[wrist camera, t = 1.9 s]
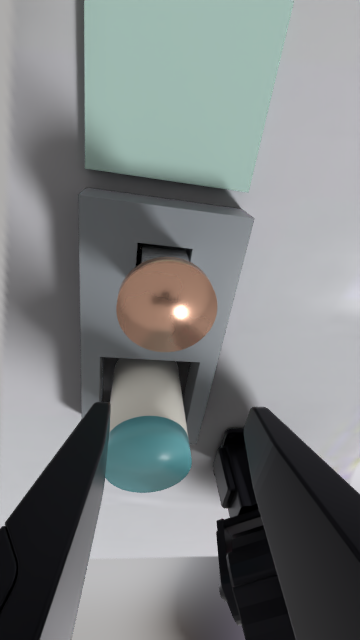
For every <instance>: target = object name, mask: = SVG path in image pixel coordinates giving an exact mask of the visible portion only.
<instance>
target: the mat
mask: <svg viewBox="0 0 360 640" xmlns="http://www.w3.org/2000/svg"><path fill="white" fill-rule="evenodd" d="M293 3H294V1H292V0H84V67H85V169H92V170H99V171H105V172H112V173H119V174H126V175H133V176H139V177H146V178H153V179H160V180H167V181H173V182H180V183H187V184H194V185H201V186H207V187H214V188H221V189H228V190H235V191H241V192H249V188H250V184H251V180H252V175H253V171H254V167H255V163H256V159H257V154H258V150H259V146H260V142H261V138H262V133H263V129H264V125H265V121H266V117H267V113H268V108H269V104H270V100H271V96H272V92H273V87H274V83H275V79H276V75H277V71H278V66H279V62H280V58H281V54H282V50H283V45H284V41H285V37H286V33H287V29H288V24H289V20H290V16H291V12H292V8H293Z"/></svg>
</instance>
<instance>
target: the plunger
mask: <svg viewBox="0 0 360 640" xmlns="http://www.w3.org/2000/svg"><path fill="white" fill-rule="evenodd" d="M116 313H117V319H118V322H119V325H120V327H121V329H122V330H123V332H124V333H125V335H126V336H127V337H128V338H129V339H130V340H131V341H133V342H134V343H135V344H137V345H139V346H141V347H143V348H145V349H148V350H151V351H156V352H175V351H179V350H183V349H186V348H188V347H190V346H192V345H194V344H196V343H197V342H199V341H200V340H201V339H202V338H203V337H204V336H205V335H206V334H207V333H208V332H209V331H210V329H211V327H212V326H213V324H214V321H215V318H216V315H217V298H216V294H215V291H214V289H213V287H212V285H211V283H210V280H209V279H208V277H207V276H206V274H205V273H204V272H203V271H202V270H201V269H200V268H199V267H198V266H196V265H195V264H193V263H191V262H189V259H188V256H187V253H186V250H185V248H181V247H172V246H163V245H154V244H146V243H143V246H142V258H141V264H139V265H138V266H136V267H135V268H134V269H132V270H131V271H130V272H129V273H128V275H127V276H126V277H125V279H124V280H123V282H122V284H121V286H120V289H119V293H118V299H117V306H116Z"/></svg>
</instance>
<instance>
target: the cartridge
mask: <svg viewBox="0 0 360 640" xmlns="http://www.w3.org/2000/svg"><path fill="white" fill-rule="evenodd" d="M110 404H111V414H110V431H109V442H108V452H107V462H106V472H105V478H106V479H107V480H108V481H109V482H110V483H111V484H113V485H114V486H116V487H118V488H120V489H123V490H126V491H131V492H139V493H146V492H155V491H160V490H164V489H167V488H169V487H171V486H173V485H175V484H177V483H179V482H180V481H181V480H182V479H183V478H185V477H186V475H187V474H188V472H189V471H190V468H191V464H192V459H191V452H190V445H189V439H188V432H187V425H186V418H185V412H184V405H183V398H182V391H181V385H180V378H179V371H178V366H177V363H176V361H165V360H147V359H129V358H120V359H119V360H118V361H117V363H116V365H115V368H114V375H113V383H112V391H111V399H110Z"/></svg>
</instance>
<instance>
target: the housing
mask: <svg viewBox="0 0 360 640" xmlns="http://www.w3.org/2000/svg"><path fill="white" fill-rule="evenodd" d="M78 204H79V273H80V342H81V411H82V418H83V417H84V416H85V414H86V413H87V412H88V410H89V409H90V408H91V406H92V405H93V404H94V403H95V402H102V393H103V360H104V357H111V358H129V359H147V360H165V361H183V362H191V363H190V368H189V373H188V378H187V383H186V388H185V393H184V398H183V405H184V412H185V418H186V425H187V432H188V439H189V444H197V440H198V436H199V432H200V429H201V425H202V421H203V417H204V413H205V409H206V405H207V401H208V397H209V394H210V390H211V386H212V382H213V378H214V374H215V370H216V366H217V362H218V359H219V355H220V351H221V347H222V343H223V339H224V335H225V331H226V327H227V324H228V320H229V316H230V312H231V308H232V304H233V300H234V296H235V292H236V289H237V285H238V281H239V277H240V273H241V269H242V265H243V261H244V257H245V254H246V250H247V246H248V242H249V238H250V234H251V230H252V226H253V222H254V219H255V218H253V217H252V216H251V215H249V214H248V213H247V212H245V211H244V210H243V209H239V208H231V207H224V206H217V205H210V204H202V203H195V202H188V201H181V200H173V199H166V198H159V197H152V196H144V195H137V194H130V193H123V192H115V191H108V190H101V189H94V188H85V189H84V190H83V191H82V192H81V193H80V194H79V195H78ZM137 243H146V244H155V245H163V246H172V247H181V248H185V250H186V253H187V256H188V259H189V262H191V263H193V264H195V265H196V266H198V267H199V268H200V269H201V270H202V271H203V272H204V273H205V274H206V276H207V277H208V279H209V280H210V283H211V285H212V287H213V289H214V291H215V294H216V298H217V315H216V318H215V321H214V324H213V326H212V327H211V329H210V331H209V332H208V333H207V334H206V335H205V336H204V337H203V338H202V339H201V340H200V341H199V342H197V343H196V344H194V345H192V346H190V347H188V348H186V349H183V350H179V351H175V352H156V351H151V350H148V349H145V348H143V347H141V346H139V345H137V344H135V343H134V342H133V341H131V340H130V339H129V338H128V337H127V336H126V335H125V333H124V332H123V330H122V329H121V327H120V325H119V322H118V319H117V313H116V306H117V299H118V293H119V289H120V286H121V284H122V282H123V280H124V279H125V277H126V276H127V275H128V273H129V272H130V271H131V270H132V269H134V268H135V267H136V256H137Z"/></svg>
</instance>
